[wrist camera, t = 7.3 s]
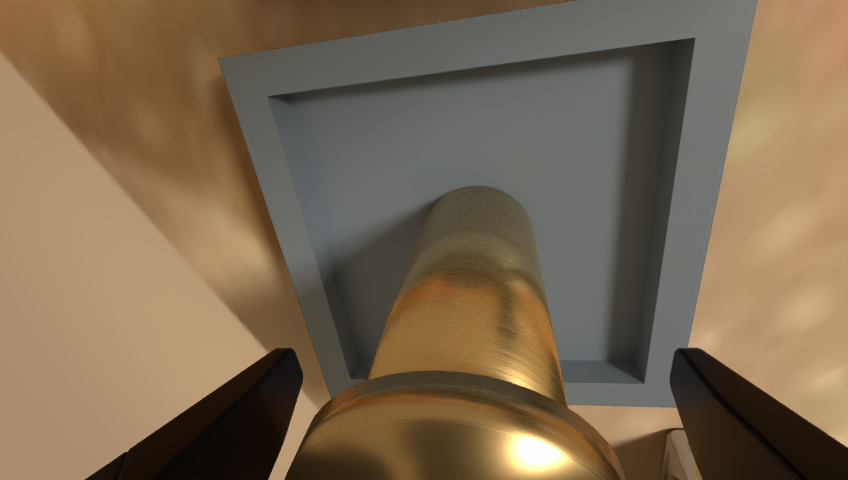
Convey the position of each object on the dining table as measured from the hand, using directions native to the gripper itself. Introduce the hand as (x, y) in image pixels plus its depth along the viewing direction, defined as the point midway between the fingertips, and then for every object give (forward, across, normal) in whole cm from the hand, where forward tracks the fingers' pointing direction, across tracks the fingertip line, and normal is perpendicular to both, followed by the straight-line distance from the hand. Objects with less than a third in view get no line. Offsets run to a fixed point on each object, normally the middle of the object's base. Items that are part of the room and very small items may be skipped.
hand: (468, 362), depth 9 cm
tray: (+7, 0, 0) cm, 7 cm away
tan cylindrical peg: (+6, 0, 0) cm, 6 cm away
